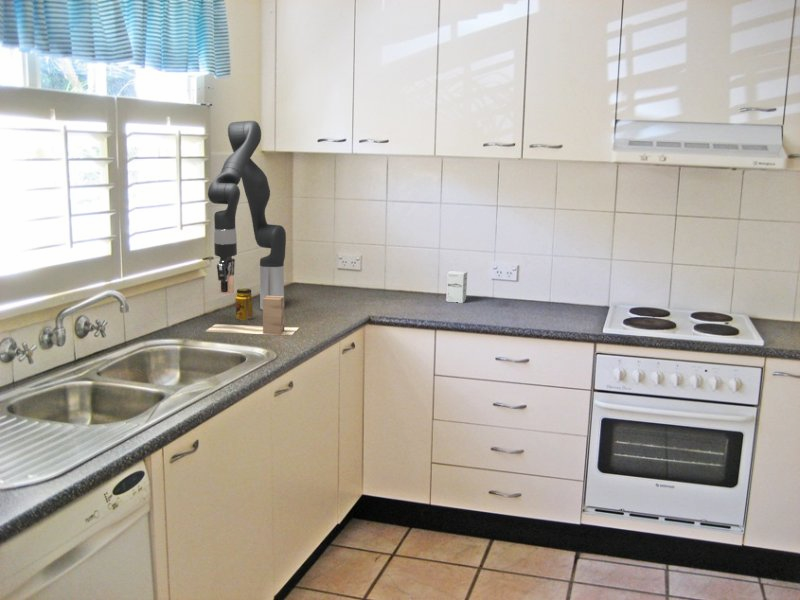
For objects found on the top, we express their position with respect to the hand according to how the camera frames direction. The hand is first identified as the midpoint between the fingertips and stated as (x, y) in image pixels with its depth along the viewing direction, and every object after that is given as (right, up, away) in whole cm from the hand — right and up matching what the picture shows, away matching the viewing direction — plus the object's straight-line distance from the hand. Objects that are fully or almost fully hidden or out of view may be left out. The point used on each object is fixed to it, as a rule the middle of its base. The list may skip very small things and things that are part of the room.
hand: (226, 290), depth 293 cm
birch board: (+9, -15, -1) cm, 17 cm away
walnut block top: (+17, -8, -5) cm, 20 cm away
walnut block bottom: (+17, -14, -4) cm, 23 cm away
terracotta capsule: (0, -1, 0) cm, 1 cm away
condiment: (+4, -11, +17) cm, 21 cm away
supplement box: (+84, -4, +66) cm, 107 cm away
